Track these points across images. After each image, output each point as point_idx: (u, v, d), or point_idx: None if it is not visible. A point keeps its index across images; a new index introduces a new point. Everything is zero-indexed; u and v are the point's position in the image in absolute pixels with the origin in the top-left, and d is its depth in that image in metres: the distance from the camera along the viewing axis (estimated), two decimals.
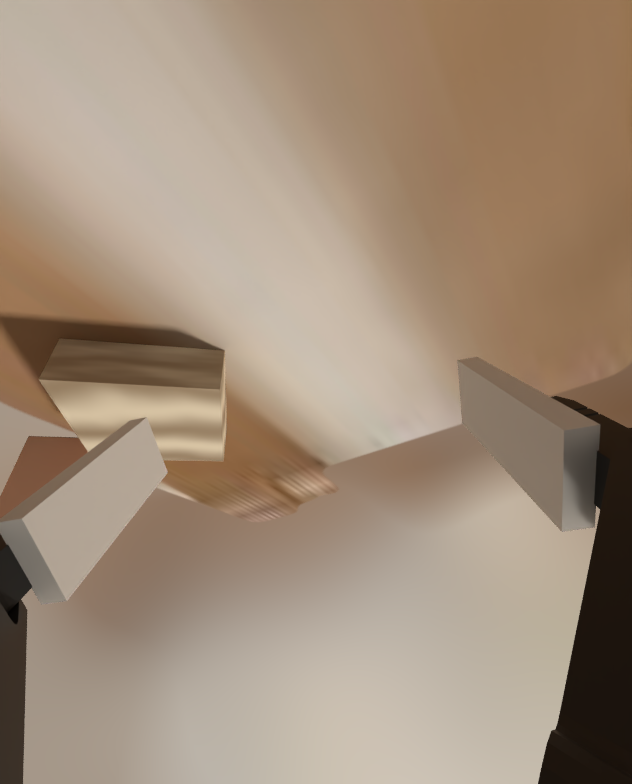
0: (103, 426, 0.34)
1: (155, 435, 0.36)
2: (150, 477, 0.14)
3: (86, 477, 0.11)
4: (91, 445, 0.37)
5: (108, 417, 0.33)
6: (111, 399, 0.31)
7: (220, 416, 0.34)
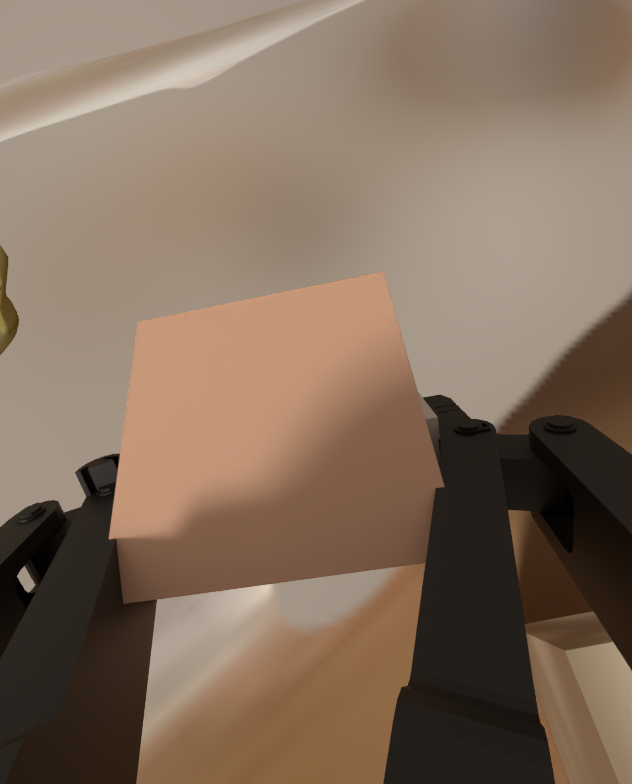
0: None
1: None
2: None
3: None
4: None
5: None
6: None
7: None
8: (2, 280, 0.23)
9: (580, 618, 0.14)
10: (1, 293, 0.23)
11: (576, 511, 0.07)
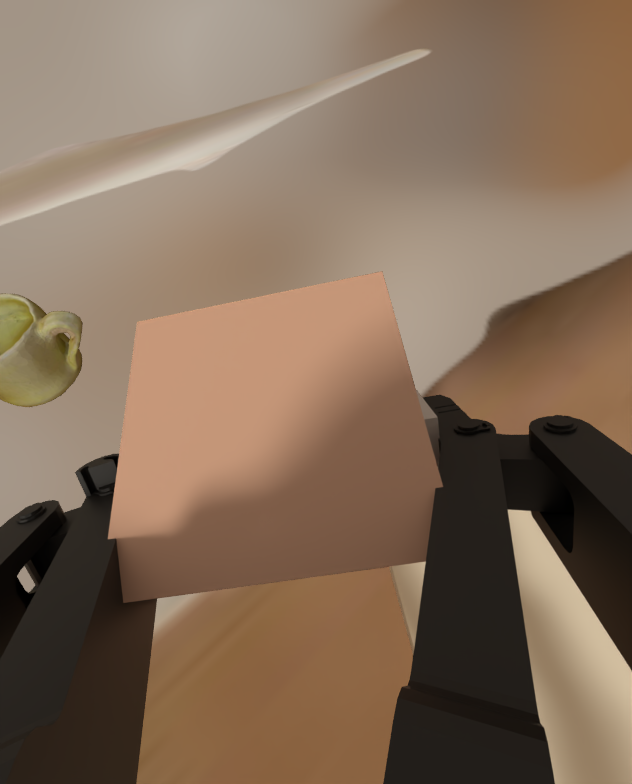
0: None
1: None
2: None
3: None
4: None
5: (544, 569, 0.21)
6: None
7: None
8: (80, 339, 0.35)
9: None
10: (78, 346, 0.35)
11: (576, 511, 0.07)
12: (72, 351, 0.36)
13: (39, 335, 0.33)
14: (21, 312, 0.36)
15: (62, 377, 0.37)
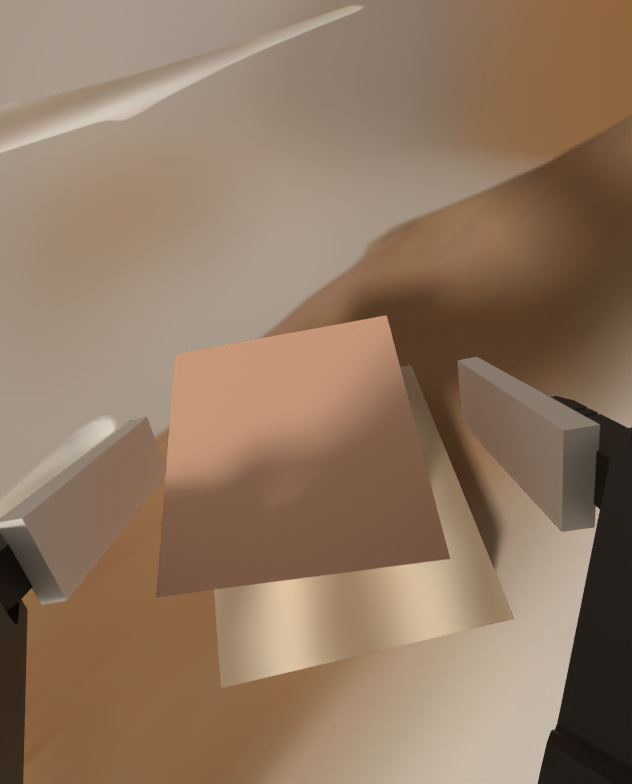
0: None
1: None
2: (150, 477, 0.14)
3: (86, 477, 0.11)
4: None
5: None
6: None
7: (420, 638, 0.16)
8: None
9: None
10: None
11: None
12: None
13: None
14: None
15: None
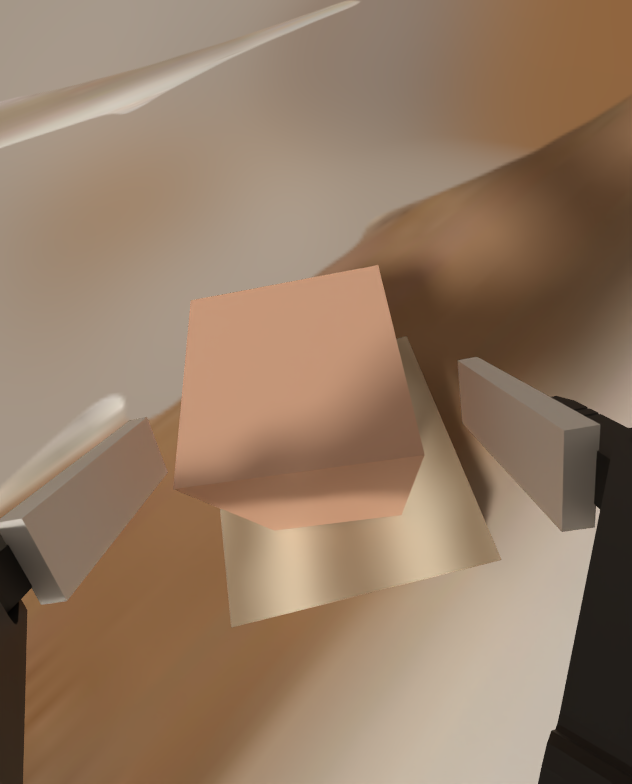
0: None
1: None
2: (150, 477, 0.14)
3: (86, 477, 0.11)
4: None
5: None
6: None
7: (415, 579, 0.18)
8: None
9: None
10: None
11: None
12: None
13: None
14: None
15: None
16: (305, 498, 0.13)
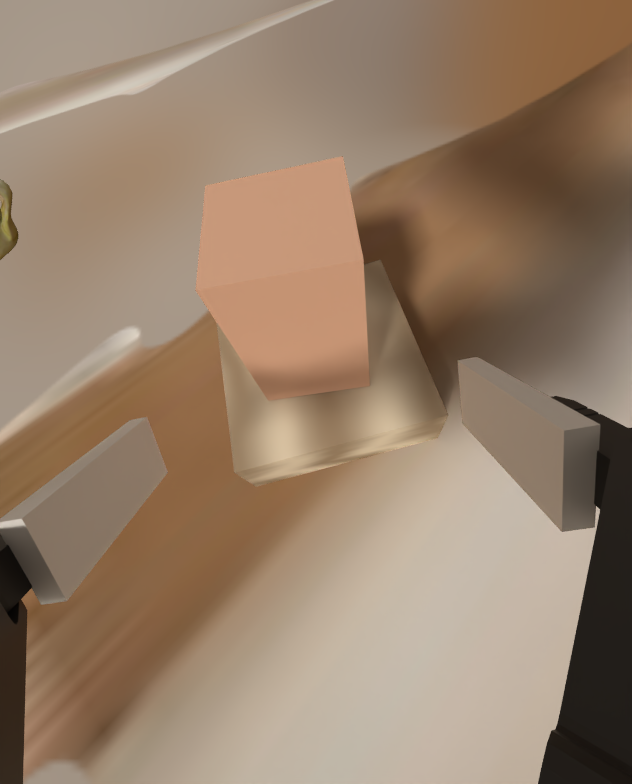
0: None
1: None
2: (150, 477, 0.14)
3: (86, 477, 0.11)
4: None
5: None
6: (369, 312, 0.26)
7: (380, 432, 0.22)
8: (9, 204, 0.41)
9: None
10: (8, 212, 0.42)
11: None
12: (4, 218, 0.42)
13: None
14: None
15: None
16: (288, 329, 0.18)
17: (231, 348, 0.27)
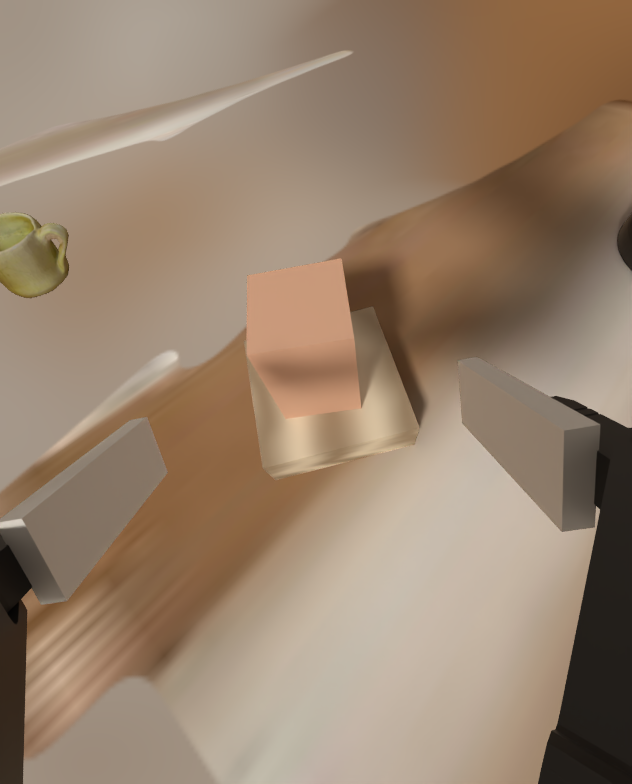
0: None
1: None
2: (150, 477, 0.14)
3: (86, 477, 0.11)
4: None
5: None
6: (363, 348, 0.35)
7: (370, 439, 0.31)
8: (66, 245, 0.49)
9: None
10: (65, 251, 0.50)
11: None
12: (61, 255, 0.50)
13: (37, 238, 0.48)
14: (25, 228, 0.51)
15: (54, 275, 0.51)
16: (304, 374, 0.26)
17: (257, 373, 0.35)
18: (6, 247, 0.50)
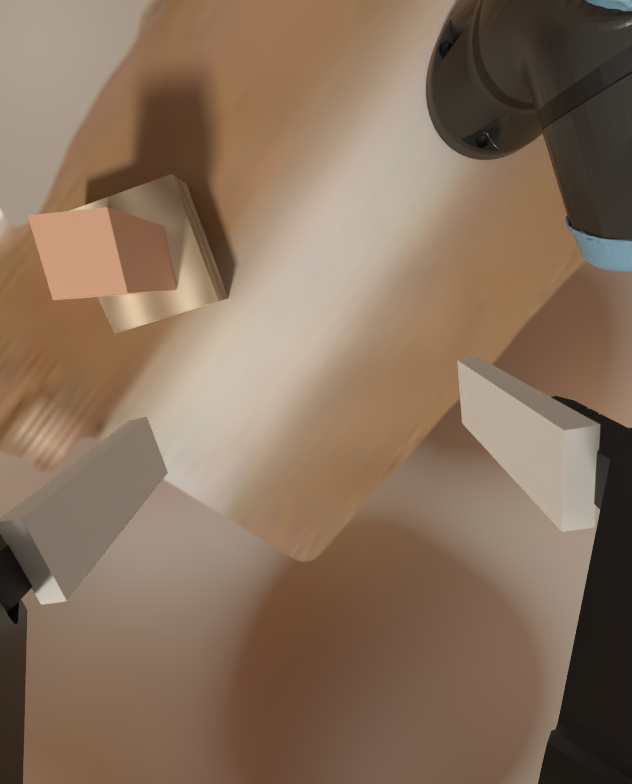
0: None
1: None
2: (150, 477, 0.14)
3: (86, 477, 0.11)
4: None
5: None
6: (169, 226, 0.40)
7: (185, 310, 0.43)
8: None
9: None
10: None
11: None
12: None
13: None
14: None
15: None
16: (109, 295, 0.36)
17: None
18: None
